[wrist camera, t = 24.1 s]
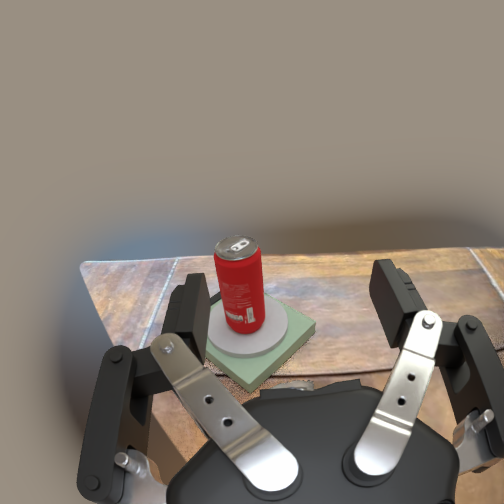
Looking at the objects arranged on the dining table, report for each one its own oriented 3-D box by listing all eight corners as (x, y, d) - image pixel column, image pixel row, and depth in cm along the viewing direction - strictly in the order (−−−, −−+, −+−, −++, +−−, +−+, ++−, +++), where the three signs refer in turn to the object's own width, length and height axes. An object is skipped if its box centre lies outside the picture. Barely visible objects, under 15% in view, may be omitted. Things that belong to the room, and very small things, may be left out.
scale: (240, 289, 51) (238, 273, 49) (314, 332, 42) (316, 316, 40) (178, 333, 44) (172, 317, 42) (250, 393, 35) (248, 380, 33)
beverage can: (219, 322, 40) (203, 248, 34) (247, 302, 43) (238, 229, 36) (245, 343, 37) (233, 267, 30) (274, 320, 40) (270, 244, 33)
